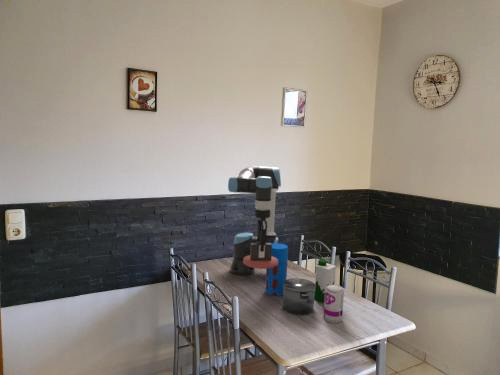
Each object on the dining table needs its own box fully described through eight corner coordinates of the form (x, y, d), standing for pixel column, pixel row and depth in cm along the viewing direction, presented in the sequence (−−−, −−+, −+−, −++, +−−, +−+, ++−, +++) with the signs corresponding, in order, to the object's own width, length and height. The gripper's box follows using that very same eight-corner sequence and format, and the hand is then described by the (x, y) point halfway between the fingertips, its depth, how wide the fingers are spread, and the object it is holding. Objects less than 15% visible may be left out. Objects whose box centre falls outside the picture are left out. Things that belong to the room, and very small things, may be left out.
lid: (241, 257, 187) (241, 239, 186) (274, 257, 189) (275, 239, 188) (245, 268, 170) (246, 248, 169) (281, 268, 173) (282, 248, 171)
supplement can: (332, 325, 162) (334, 292, 160) (319, 317, 169) (321, 285, 167) (345, 320, 166) (347, 289, 164) (332, 313, 173) (334, 282, 171)
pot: (277, 299, 187) (278, 276, 185) (307, 298, 189) (308, 276, 188) (287, 318, 166) (288, 293, 165) (320, 317, 168) (322, 292, 167)
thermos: (284, 297, 190) (286, 250, 187) (263, 294, 192) (265, 247, 189) (286, 289, 200) (289, 244, 197) (267, 286, 203) (269, 242, 200)
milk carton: (320, 294, 195) (322, 257, 192) (335, 299, 189) (338, 262, 186) (311, 299, 188) (313, 261, 186) (326, 304, 182) (329, 265, 180)
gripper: (252, 205, 184) (250, 251, 187) (257, 212, 168) (255, 261, 171) (267, 205, 185) (265, 251, 188) (273, 212, 169) (271, 261, 172)
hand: (260, 256), depth 179 cm, fingers closed on lid, 3 cm apart
